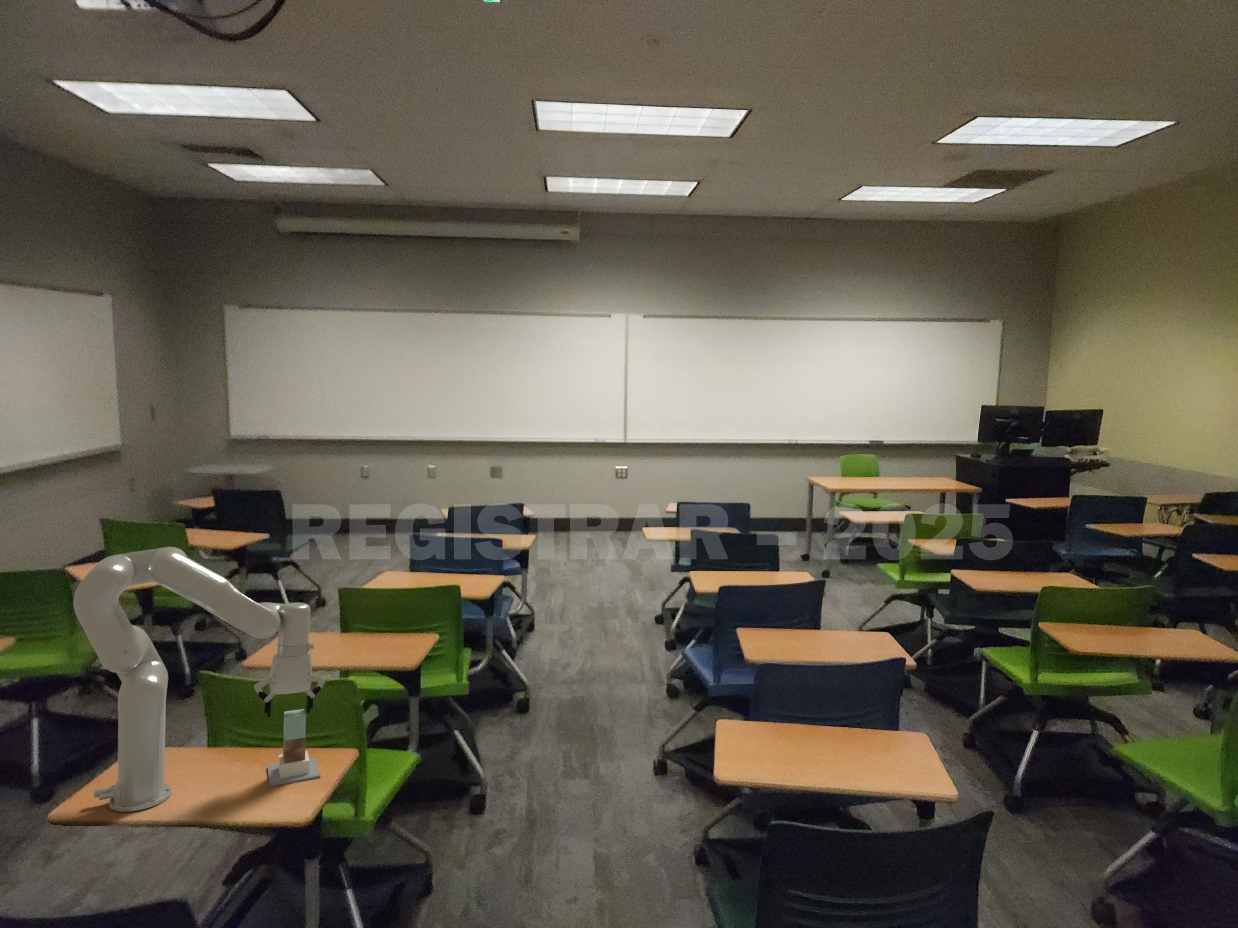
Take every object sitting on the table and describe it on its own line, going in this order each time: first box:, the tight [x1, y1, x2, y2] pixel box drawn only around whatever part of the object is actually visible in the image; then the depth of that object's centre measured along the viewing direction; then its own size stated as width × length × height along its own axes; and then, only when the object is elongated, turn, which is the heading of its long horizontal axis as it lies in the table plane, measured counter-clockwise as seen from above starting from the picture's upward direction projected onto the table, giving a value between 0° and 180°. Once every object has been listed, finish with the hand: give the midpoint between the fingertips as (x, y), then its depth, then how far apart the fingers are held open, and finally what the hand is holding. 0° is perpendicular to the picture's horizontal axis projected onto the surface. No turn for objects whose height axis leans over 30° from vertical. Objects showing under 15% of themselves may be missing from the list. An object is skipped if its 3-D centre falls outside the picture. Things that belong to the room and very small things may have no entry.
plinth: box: [267, 749, 321, 788], centre depth 186 cm, size 12×12×4 cm
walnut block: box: [282, 735, 307, 763], centre depth 186 cm, size 5×5×6 cm
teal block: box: [283, 708, 307, 741], centre depth 186 cm, size 5×5×6 cm
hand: (288, 713), depth 186 cm, fingers open, 9 cm apart
